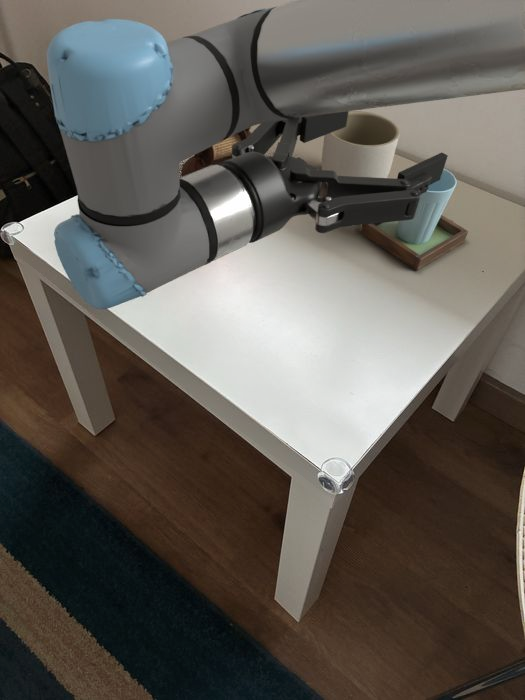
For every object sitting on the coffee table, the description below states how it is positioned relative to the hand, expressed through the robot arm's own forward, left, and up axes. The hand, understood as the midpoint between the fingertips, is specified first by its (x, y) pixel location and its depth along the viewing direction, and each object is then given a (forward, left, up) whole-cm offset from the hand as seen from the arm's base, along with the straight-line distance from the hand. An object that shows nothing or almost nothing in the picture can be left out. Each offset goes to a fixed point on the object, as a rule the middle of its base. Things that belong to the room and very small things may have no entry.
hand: (390, 138), depth 58 cm
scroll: (+37, -5, -26) cm, 46 cm away
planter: (+23, -24, -26) cm, 42 cm away
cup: (+6, -21, -25) cm, 33 cm away
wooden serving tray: (+6, -21, -26) cm, 34 cm away
